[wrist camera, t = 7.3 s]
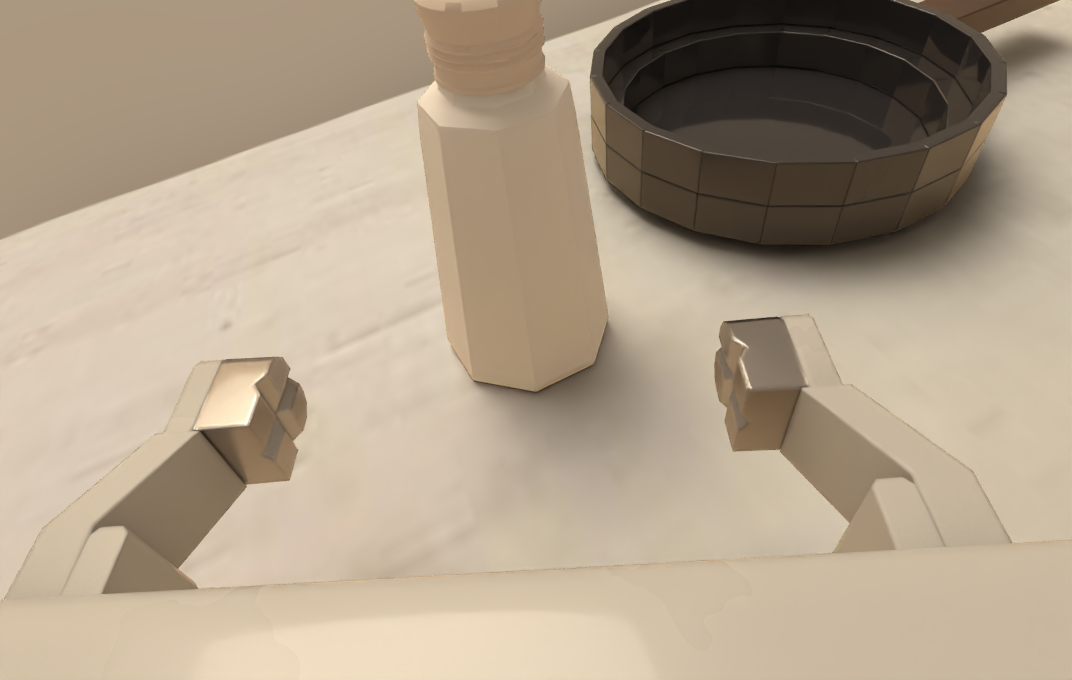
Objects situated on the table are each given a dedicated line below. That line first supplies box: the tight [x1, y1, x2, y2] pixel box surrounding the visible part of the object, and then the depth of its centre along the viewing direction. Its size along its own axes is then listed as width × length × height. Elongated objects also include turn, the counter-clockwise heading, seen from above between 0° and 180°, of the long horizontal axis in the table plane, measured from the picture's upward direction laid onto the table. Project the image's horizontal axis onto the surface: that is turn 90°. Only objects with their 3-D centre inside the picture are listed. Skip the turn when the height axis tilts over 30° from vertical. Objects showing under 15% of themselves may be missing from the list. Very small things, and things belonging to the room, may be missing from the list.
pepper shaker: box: [413, 0, 609, 392], centre depth 17 cm, size 5×5×11 cm
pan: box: [590, 0, 1007, 245], centre depth 26 cm, size 15×15×4 cm
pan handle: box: [919, 0, 1059, 33], centre depth 29 cm, size 10×2×1 cm, turn 119°
